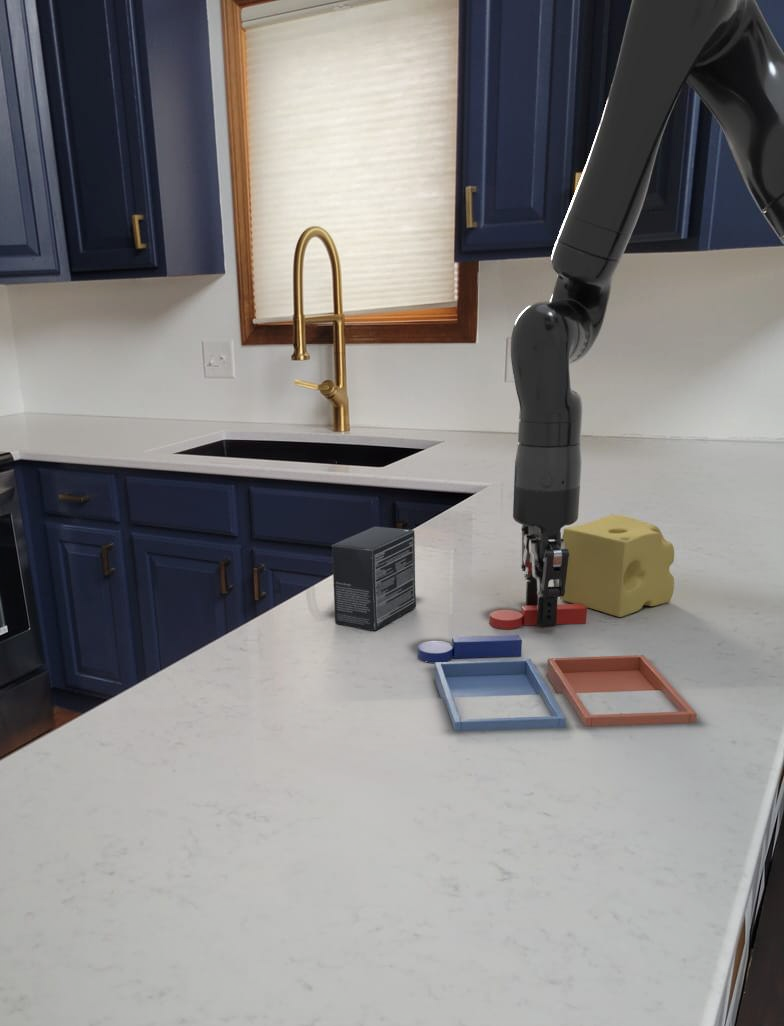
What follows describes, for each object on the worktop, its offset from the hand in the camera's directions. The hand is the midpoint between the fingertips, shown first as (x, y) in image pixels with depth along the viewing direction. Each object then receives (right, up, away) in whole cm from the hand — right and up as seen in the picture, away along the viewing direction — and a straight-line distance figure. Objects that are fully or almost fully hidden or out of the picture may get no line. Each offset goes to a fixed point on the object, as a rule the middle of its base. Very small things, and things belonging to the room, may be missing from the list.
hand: (540, 617), depth 118 cm
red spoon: (0, -1, 0) cm, 1 cm away
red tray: (+2, -9, -22) cm, 24 cm away
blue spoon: (-10, -5, -9) cm, 14 cm away
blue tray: (-10, -9, -22) cm, 26 cm away
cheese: (+11, +2, +7) cm, 13 cm away
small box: (-20, 0, +5) cm, 21 cm away
